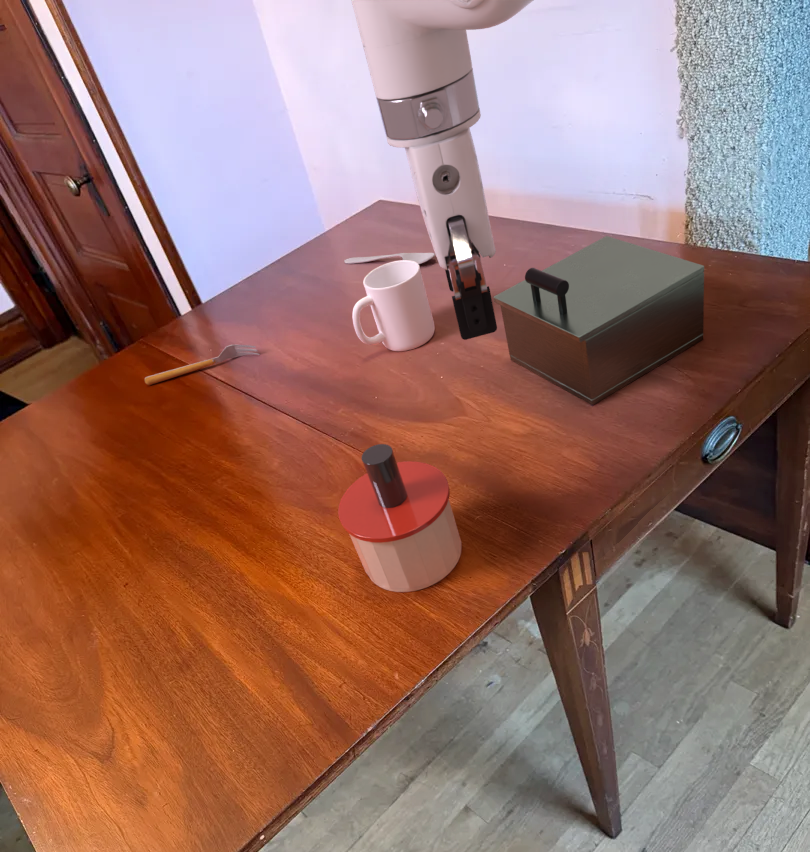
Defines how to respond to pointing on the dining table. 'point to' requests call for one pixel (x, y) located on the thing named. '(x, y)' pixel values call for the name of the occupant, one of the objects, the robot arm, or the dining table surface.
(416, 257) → the spoon
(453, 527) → the pot
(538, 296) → the box lid
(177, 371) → the fork
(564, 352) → the open box
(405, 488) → the pot lid
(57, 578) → the dining table surface
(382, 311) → the cup
